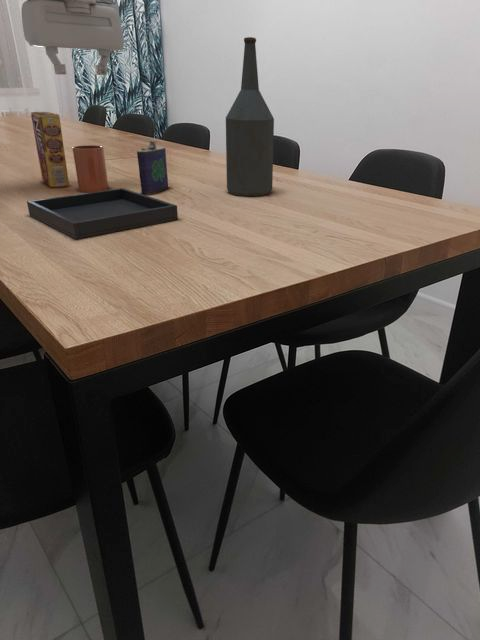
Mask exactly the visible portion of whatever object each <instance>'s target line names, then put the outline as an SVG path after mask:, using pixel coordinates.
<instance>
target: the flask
mask: <svg viewBox="0 0 480 640" xmlns="http://www.w3.org/2000/svg"><path fill="white" fill-rule="evenodd" d="M147 142H149V144H148V145H147V146H146V147H141V148H140V149H138V150H137V151H136V157H137V165H138V172H139V173H138V174H139V182H140V190H141V191H140V192H141V193H140V194H143V195H146V196H150V195H154V194H158V193H161V192H163V191H166V190H169V177H168V176H169V175H168V167H167V153H166V147H165V146H157V145H156V143H158V141H156V140H154V139H152V140H148V141H147Z"/></svg>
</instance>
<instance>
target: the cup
mask: <svg viewBox="0 0 480 640" xmlns="http://www.w3.org/2000/svg"><path fill="white" fill-rule="evenodd" d="M71 149H72V152H73V153H72V154H73V160H74V166H75V173H76V180H77V185H78V186H77V187H78V191H79V192H82V193H91V192H98V191H105V190H109V181H108V173H107V166H106V165H107V163H106V157H105V148H104V146H102V145H95V144H93V145H92V144H88V145H87V144H86V145H85V144H83V145H75V146H72V148H71Z"/></svg>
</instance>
